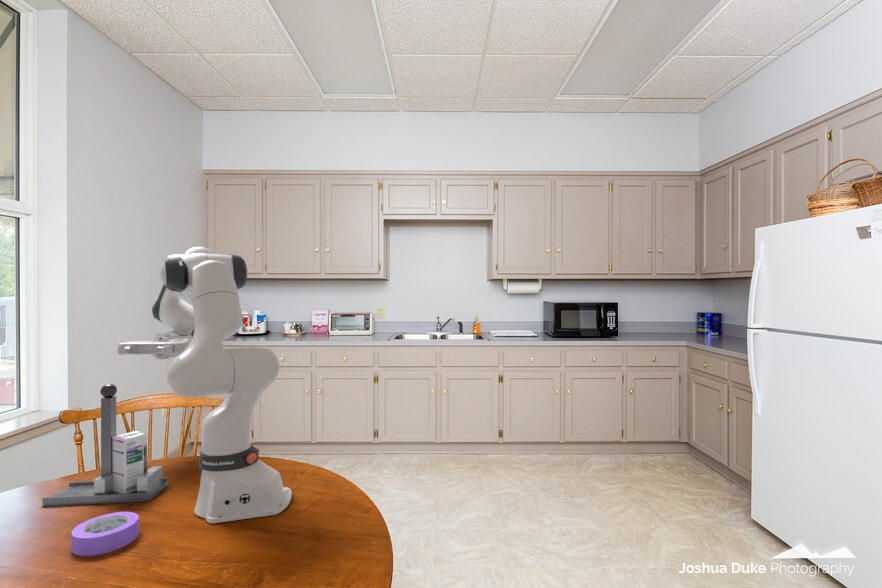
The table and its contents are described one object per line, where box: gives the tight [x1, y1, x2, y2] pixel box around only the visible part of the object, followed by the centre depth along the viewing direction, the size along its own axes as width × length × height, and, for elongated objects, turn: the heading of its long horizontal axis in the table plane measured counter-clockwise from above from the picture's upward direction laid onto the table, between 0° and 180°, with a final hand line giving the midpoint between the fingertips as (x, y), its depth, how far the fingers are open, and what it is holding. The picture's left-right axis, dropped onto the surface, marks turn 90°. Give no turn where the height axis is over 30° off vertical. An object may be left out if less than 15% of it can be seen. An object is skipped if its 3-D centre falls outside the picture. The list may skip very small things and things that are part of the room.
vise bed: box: [41, 465, 169, 507], centre depth 120 cm, size 25×10×6 cm, turn 97°
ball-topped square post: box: [93, 383, 118, 495], centre depth 120 cm, size 4×8×28 cm, turn 7°
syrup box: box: [112, 430, 148, 494], centre depth 121 cm, size 6×6×14 cm
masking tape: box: [70, 511, 140, 557], centre depth 98 cm, size 12×12×4 cm
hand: (143, 350), depth 137 cm, fingers open, 8 cm apart
